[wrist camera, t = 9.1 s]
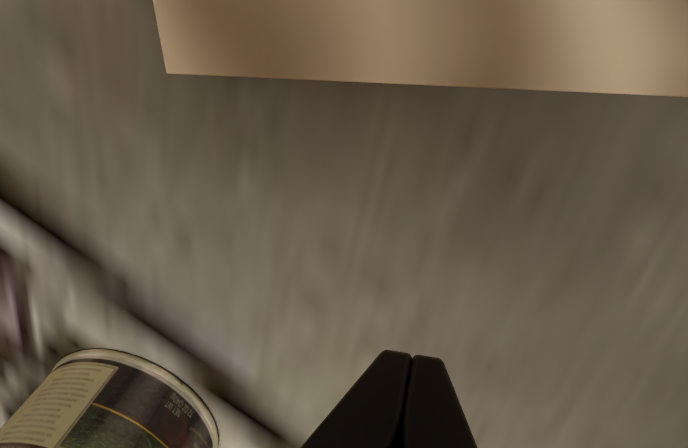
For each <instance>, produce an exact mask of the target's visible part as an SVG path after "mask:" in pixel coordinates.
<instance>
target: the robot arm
mask: <svg viewBox="0 0 688 448" xmlns="http://www.w3.org/2000/svg"><path fill="white" fill-rule="evenodd" d="M301 448H477V445H476V443H475V440H474V438H473V435H472V433H471V430H470V428H469V425H468V423H467V420H466V418H465V415H464V413H463V410H462V408H461V405H460V403H459V400H458V397H457V395H456V392H455V390H454V387H453V385H452V382H451V380H450V377H449V375H448V372H447V370H446V367H445V365H444V363H443V361H442V360H441V359H439V358H435V357H428V356H422V355H415V356H414V357H413V358H412V357H411V355H410V354H408V353H404V352H398V351H391V350H384V351H382V352H381V353H380V354H379V355H378V357H377V358H376V359H375V360H374V361H373V363H372V364H371V365H370V366H369V367H368V368H367V370H366V371H365V372H364V373H363V374H362V376H361V377H360V378H359V379H358V380H357V381H356V383H355V384H354V385H353V386H352V387H351V389H350V390H349V391H348V392H347V393H346V394H345V396H344V397H343V398H342V399H341V400H340V402H339V403H338V404H337V405H336V406H335V408H334V409H333V410H332V411H331V412H330V413H329V415H328V416H327V417H326V418H325V419H324V421H323V422H322V423H321V424H320V425H319V426H318V428H317V429H316V430H315V431H314V432H313V434H312V435H311V436H310V437H309V438H308V439H307V441H306V442H305V443H304V444H303V445H302V447H301Z"/></svg>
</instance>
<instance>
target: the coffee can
mask: <svg viewBox="0 0 688 448" xmlns="http://www.w3.org/2000/svg"><path fill="white" fill-rule="evenodd" d="M218 443H219V438H218V433H217V428H216V425H215V422H214V419H213V417H212V415H211V414H210V412H209V410H208V409H207V407H206V406H205V404H204V403H203V402H202V401H201V400H200V398H199V397H198V396H197V395H196V394H195V393H194V392H193V391H192V390H191V389H190V388H189V387H188V386H187V385H185V384H184V383H183V382H182V381H180V380H179V379H178V378H176V377H175V376H174V375H172V374H171V373H170V372H168V371H167V370H165V369H163V368H161V367H159V366H157V365H155V364H153V363H151V362H149V361H147V360H145V359H142V358H139V357H137V356H134V355H131V354H128V353H123V352H120V351H113V350H107V349H89V350H82V351H78V352H74V353H72V354H69V355H67V356H65V357H64V358H62V359H61V360H60V361H59V362H58V363H57V364H56V365H55V367H54V368H53V369H52V371H51V373H50V374H49V375H48V376H47V377H46V379H45V380H44V381H43V382H42V383H41V384H40V386H39V387H38V388H37V389H36V390H35V391H34V392H33V393H32V394H31V396H30V397H29V398H28V399H27V400H26V401H25V402H24V403H23V404H22V406H21V407H20V408H19V409H18V410H17V411H16V412H15V413H14V414H13V415H12V417H11V418H10V419H9V420H8V421H7V422H6V423H5V424H4V425H3V427H2V428H1V429H0V448H218Z"/></svg>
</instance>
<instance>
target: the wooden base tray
mask: <svg viewBox="0 0 688 448" xmlns="http://www.w3.org/2000/svg"><path fill="white" fill-rule="evenodd" d="M153 4H154V10H155V15H156V20H157V25H158V31H159V36H160V41H161V46H162V52H163V57H164V62H165V67H166V73H169V74H191V75H213V76H236V77H258V78H280V79H302V80H325V81H347V82H369V83H391V84H414V85H436V86H458V87H480V88H503V89H525V90H547V91H569V92H592V93H614V94H636V95H658V96H681V97H688V0H153Z"/></svg>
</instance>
